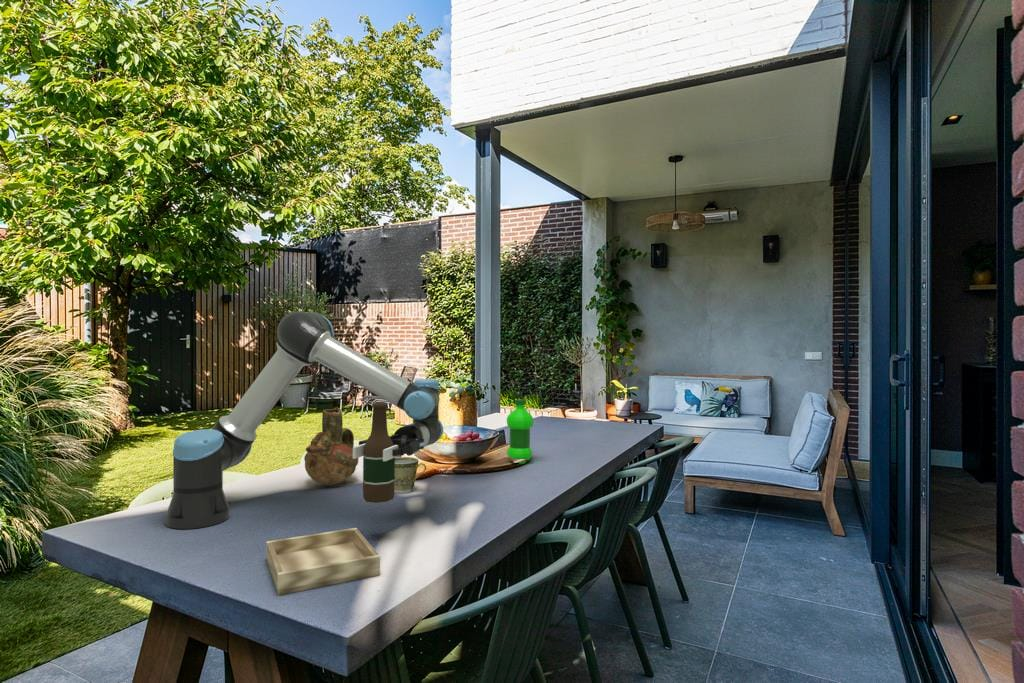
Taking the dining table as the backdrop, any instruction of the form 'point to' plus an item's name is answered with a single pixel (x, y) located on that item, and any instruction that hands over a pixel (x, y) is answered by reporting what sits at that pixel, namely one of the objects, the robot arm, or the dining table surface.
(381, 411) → the beer bottle
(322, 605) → the dining table surface
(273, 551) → the oak tray
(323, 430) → the ceramic vessel
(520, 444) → the plastic bottle
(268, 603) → the dining table surface
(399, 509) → the dining table surface
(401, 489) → the ceramic cup
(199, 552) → the dining table surface
